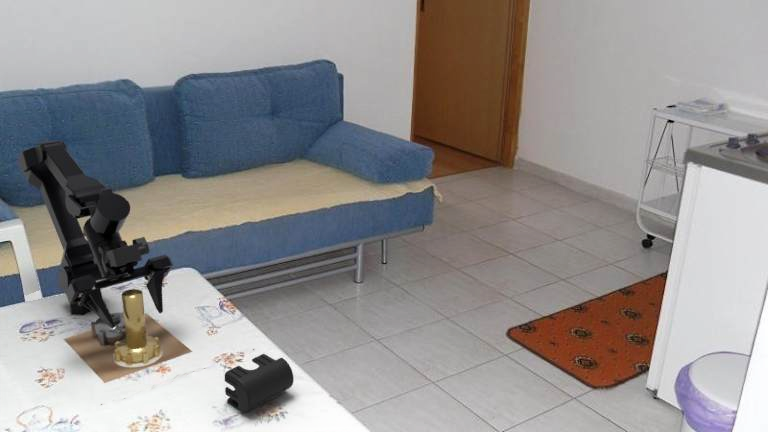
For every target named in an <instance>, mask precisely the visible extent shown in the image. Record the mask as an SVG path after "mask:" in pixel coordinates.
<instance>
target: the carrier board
mask: <svg viewBox="0 0 768 432" xmlns="http://www.w3.org/2000/svg"><path fill="white" fill-rule="evenodd" d="M144 315H145V326H146V334H148V336H151V337H153V338H155V337H158V338H159V345H160V348H159V350H160V355H159V356H158V357H154V358H152V359H151V360H149V363H146V364H144V363H137V364H132V365H126V363H125V362H122V361H116V360H115V353H114V350H115V345H106V346H105V347H104V346H100V343H99V342H98V341H97V340H96V338H93V336H92V329H90V330H87V331H84V332H81V333H78V334H75V335H72V336H71V335H70V336H68V337H65V338H63V341H64V342H65V343H67V344H68V345H69V347H70V348H71V349H72V350H73V351H74V352H75V353H76V354H77V355H78V356H79V357H80V359H81V360H83V361H84V363H86V365H87V366H88V367H89V368H90V369H91V370H92V371H93V372H94V373H95V375H97V376H98V377H99V378H100V379H101V380H102V382H103V383H104V384H106V383H109V382H111V381H114V380H117V379H120V378H122V377H125V376H129V375H131V374H133V373H137V372H139V371H142V370H144V369H147V368H148V369H149V368H151V367H153V366H156V365H159V364H161V363H165V362H167V361H170V360H173V359H176V358H179V357H182V356H184V355H188V354H190V353H192V352H193V350H191V349H190V348H189V347H188V346H186V344H185V343H183V342H182V341H180V340H179V339H178V338H177V337H176V336H175V335H173V334H172V333H171V332H170V331H168V330H167V329H166V328H165V327H164V326H163V325H161V324H160V323H159V322H158V321H157V320H155V319H154V318H153V317H152V316H151V315H149V314H148V313H146V312H144Z"/></svg>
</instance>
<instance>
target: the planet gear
mask: <svg viewBox="0 0 768 432" xmlns="http://www.w3.org/2000/svg"><path fill="white" fill-rule="evenodd" d="M143 295H144V294H143V291H142V290H141V289H137V288H136V289H135V288H134V289H132V288H131V289H127V290H125V291H123V292H122V293H121V300H122V302H121V303H122V309H123V310H122V311H123V312H122V313H124V323H125V333H126V338H125V339H123V340H121V341H117V342H116V343H115V350H114V353H115V360H116V361H122V362H125V363H126V365H132V364H137V363H144V364H146V363H149V360H151V359H152V358H154V357H158V356H159V355H160V350H159V348H160V345H159V338H158V337H155V338H153V337H151V336H148V334H146V326H145V315H144V314H145V308H144V307H145V305H144V296H143Z"/></svg>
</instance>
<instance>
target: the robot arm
mask: <svg viewBox="0 0 768 432" xmlns="http://www.w3.org/2000/svg"><path fill="white" fill-rule="evenodd" d="M17 165H18V169H19V171H20V172H21V173H23V175H24V177H25V178H26V181H27V182H28V183H29V184H30V185H32V187H35V188H36V189H37V190H39V192H40V194H41V196H42V200H43V202H44V204H45V206H46V209H47V212H48V213H49V216H50V218H51V221H52V224H53V226H54V229H55V232H56V233H57V237H58V239H59V242H60V244H61V247H62V249H63V253H62V257H61V260H60V270H59V272H58V274H57V277H56V280H57V285H58V288H59V289H60V290H61V291H62V292H64V294H65V295H66V298H67V300H68V303H69V307H70V314H71V315H75V316H85V315H87V314H88V313H94V314H95V315H96V316H97V317H99V318H101V319H102V320H103V321H104V322H105V323H106V324H107V325H108V326H109V327H110V328H114V327H115V325H114V322H113V319H112V317H111V315H110V314H111V312H110V311H109V309H108V307H107V305H106V303H105V301H104V298H103V295H102V290H103V289H106V288H109V287H112V286H116V285H120V284H123V283H127V282H129V281H133V280H138V279H141V278H144V280H146V281H147V283H146V284H145V285H146V288H147V290H148V293H149V295H150V297H151V300H152V302H153V304H154V307H155V309H156V310H157V312H158V313H159V314H162V313H163V312H164V305H163V281H164V279H165V278H166V277H167V276H168V275H169V273H170V272H171V271H172V269H173V267H174V264H173V261H172V258H170V257H169V256H167V255H166V254H162V255H159V256H155V257H151V258H148V259H147V261H146V262H145V263H144V265H143V266H140V267H137V265H138V264H139V262H141V261H143V258H142V256H144V255H147V254H150V251H151V250H150V247H149V243H148V241H147V240H146V238H145V236H141V237H138V238H135V239H132V244H130V245H129V244H128V242H127V241H126V240H123V239H122V236H121V233H120V232H119V231H121V229H122V228H123V226H124V224H125V223H126V221H127V219H128V218H129V217H128V216H129V215H130V212H131V204H130V202H129V200H127V199H126V198H125V197H124V196H123V195H120V194H118V193H115V192H114V191H113V189H112V188H111V187H109V188H107V187H106V185H105V184H104V183H102V182H101V181H100V180H99V179H98V178H94V177H92V176H87V175H86V173H85V172H84V171H83V169H82V167H80V165H79V164H78V163H77V161H76V160H75V159H74V158H73V156H72V155H71V154H70V152H69V151H68V150H67V146H66V143H65V142H64V141H63V140H59V139H58V140H57V139H56V140H52V141H51V140H50V141H44V142H40V143H39V144H36V145H35V146H33V147H31V148H27V149H23V150H22V151H21V153H19V155H18V156H17ZM88 217H89V218H88ZM83 218H88V219H87V220H86V221H85V223H84V225H83V227H81V225H80V223H79V220H78V219H83ZM135 266H136V267H137V268H134V267H135Z"/></svg>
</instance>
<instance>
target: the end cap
mask: <svg viewBox="0 0 768 432" xmlns="http://www.w3.org/2000/svg"><path fill="white" fill-rule="evenodd" d="M251 362H253V363H254V364H255V365H257V366H258V367H257V368H255V369H254V368H253V369H246V368H243V367H242V366H240V365H237V366H235V367H233V368H230V369H229V370H227V371H225V373H224V382H226V384H228V385H230V386H232V387H233V388H234V390H233V389H231V388H230V387H228V386H226V387H225V388H224V389H225V390H224V393H225V395H226V396H227V397H228V398H227V400H226V401H227V402H226V403H227V404H228V405H229V406H230V407H232V408H234V409H235V410H237V411H238V412H240V413H247V412H248V411H250V410H253V408H256V407H258V406H259V405H262V404H263V403H265V402H268V401H269V400H271V399H273V398H274V397H277V396H278V395H280V394H282V393H284V392H286V391H288V390H289V389H291V387H292V386H293V385H294V379H295V378H294V373H293V369H292V367H291V366H290V363H289V362H287V360H285V359H284V358H283V357H280V358H277V359H274V358H272V357H270V356H268V355H267V354H265V353H263V354H262V353H261V354H259V355H257V356H256V357H254V358H252V359H251Z"/></svg>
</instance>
